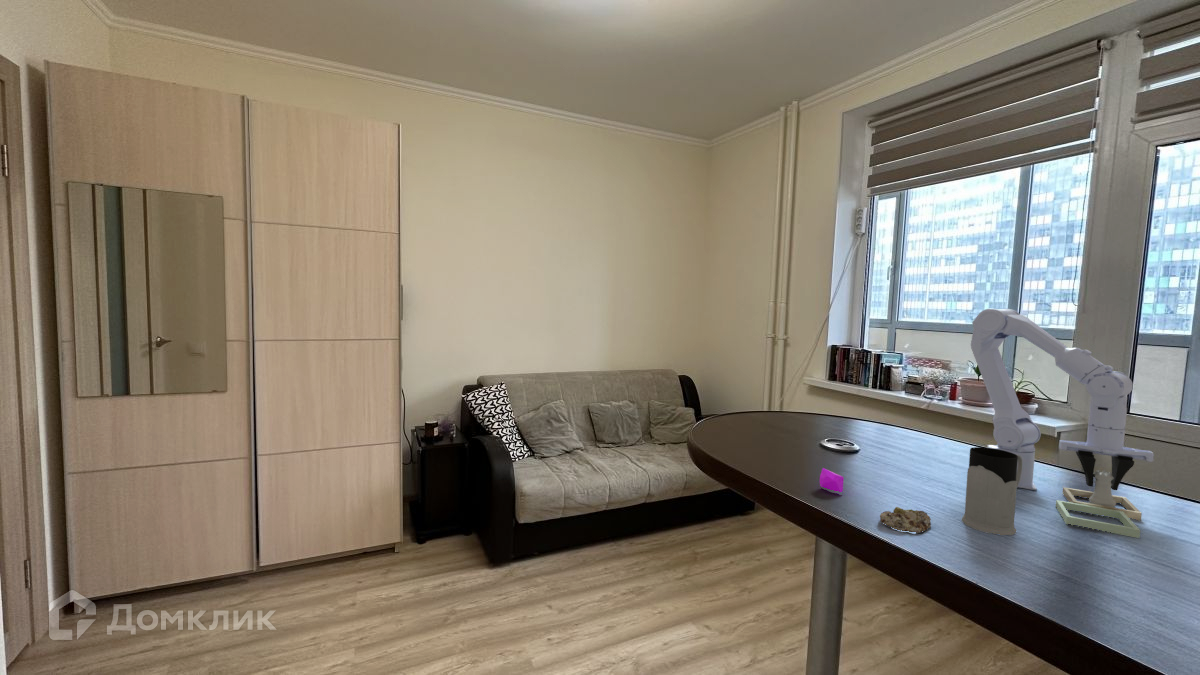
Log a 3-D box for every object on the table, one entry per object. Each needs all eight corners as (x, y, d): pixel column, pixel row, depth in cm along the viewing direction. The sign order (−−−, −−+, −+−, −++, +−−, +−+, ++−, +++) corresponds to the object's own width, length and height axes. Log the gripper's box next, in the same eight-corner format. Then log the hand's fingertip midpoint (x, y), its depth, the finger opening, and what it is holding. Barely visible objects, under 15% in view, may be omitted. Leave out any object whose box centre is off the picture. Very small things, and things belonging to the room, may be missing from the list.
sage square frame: (1066, 524, 101) (1066, 516, 100) (1055, 506, 109) (1056, 499, 109) (1139, 538, 95) (1140, 530, 95) (1122, 518, 103) (1122, 511, 103)
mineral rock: (903, 527, 94) (873, 500, 101) (896, 545, 95) (867, 517, 102) (949, 524, 96) (916, 498, 103) (942, 542, 97) (910, 515, 105)
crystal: (817, 492, 116) (818, 473, 116) (822, 485, 121) (822, 466, 121) (842, 497, 114) (843, 477, 113) (845, 489, 118) (846, 471, 118)
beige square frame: (1072, 508, 108) (1073, 501, 108) (1062, 493, 117) (1063, 487, 117) (1141, 520, 103) (1141, 513, 102) (1124, 504, 111) (1125, 497, 111)
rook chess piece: (1122, 512, 106) (1123, 476, 106) (1096, 510, 107) (1098, 474, 107) (1107, 505, 110) (1108, 469, 110) (1082, 503, 112) (1084, 468, 111)
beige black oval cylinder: (951, 520, 102) (956, 448, 101) (993, 509, 107) (998, 441, 106) (1000, 538, 94) (1005, 461, 93) (1042, 526, 99) (1047, 453, 98)
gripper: (1065, 425, 109) (1061, 485, 110) (1161, 435, 101) (1155, 500, 102) (1058, 419, 115) (1054, 476, 116) (1148, 428, 107) (1143, 489, 108)
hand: (1101, 486), depth 109 cm, fingers closed on rook chess piece, 3 cm apart
